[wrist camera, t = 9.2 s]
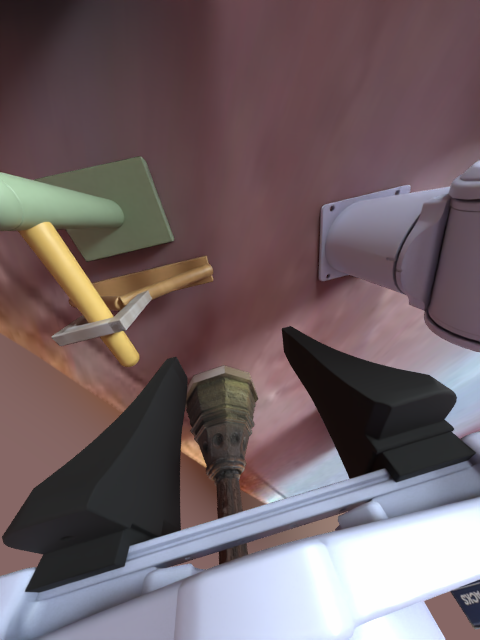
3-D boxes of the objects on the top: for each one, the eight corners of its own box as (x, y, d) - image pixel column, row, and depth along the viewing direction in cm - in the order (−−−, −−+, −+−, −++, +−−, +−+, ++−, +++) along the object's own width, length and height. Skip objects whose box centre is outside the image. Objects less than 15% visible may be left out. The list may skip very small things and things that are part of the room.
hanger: (209, 254, 16) (206, 282, 9) (216, 278, 18) (218, 321, 10) (69, 288, 16) (-62, 347, 8) (86, 310, 17) (-16, 379, 10)
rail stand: (145, 160, 14) (-16, -6, 4) (196, 300, 20) (185, 374, 10) (46, 182, 14) (-407, 65, 4) (129, 317, 20) (49, 411, 10)
